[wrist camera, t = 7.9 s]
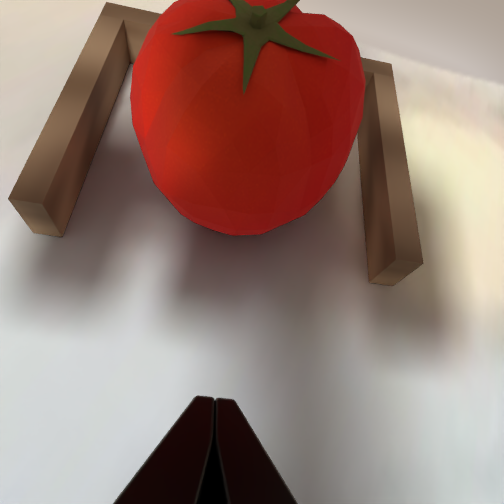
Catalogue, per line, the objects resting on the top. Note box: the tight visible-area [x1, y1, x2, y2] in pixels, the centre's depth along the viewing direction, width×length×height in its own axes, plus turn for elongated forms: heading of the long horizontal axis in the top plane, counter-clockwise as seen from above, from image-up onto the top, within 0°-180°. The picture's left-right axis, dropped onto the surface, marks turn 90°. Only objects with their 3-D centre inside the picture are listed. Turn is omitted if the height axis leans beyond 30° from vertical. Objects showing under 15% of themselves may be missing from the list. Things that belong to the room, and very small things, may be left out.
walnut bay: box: [8, 2, 423, 286], centre depth 18 cm, size 13×16×2 cm
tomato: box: [130, 0, 366, 236], centre depth 15 cm, size 9×10×8 cm
